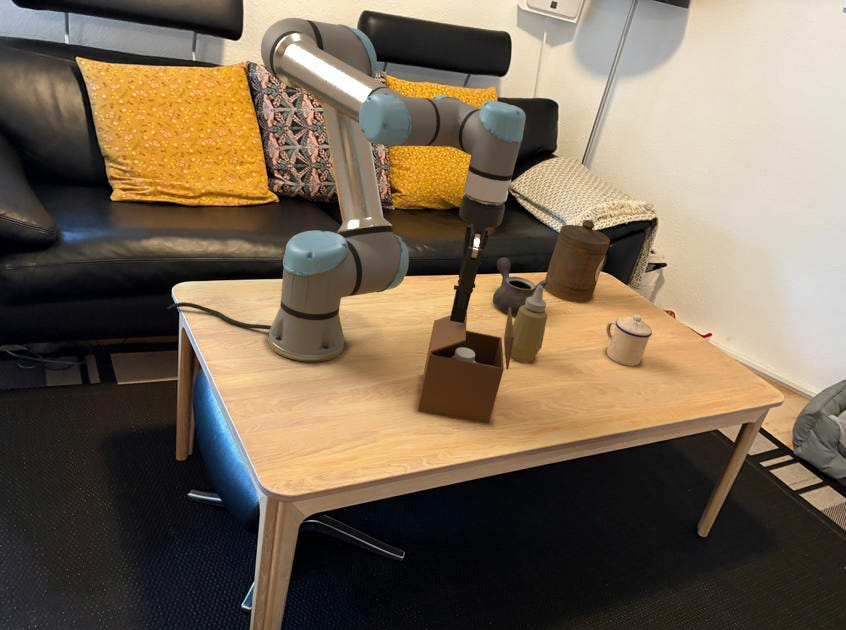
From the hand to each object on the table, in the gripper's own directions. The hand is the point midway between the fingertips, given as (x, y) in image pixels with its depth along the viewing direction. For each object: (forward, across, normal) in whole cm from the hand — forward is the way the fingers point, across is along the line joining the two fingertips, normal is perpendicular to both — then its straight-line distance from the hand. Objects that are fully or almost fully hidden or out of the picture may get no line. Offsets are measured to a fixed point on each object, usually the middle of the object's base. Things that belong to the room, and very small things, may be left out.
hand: (457, 320), depth 126 cm
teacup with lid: (+18, +35, -44) cm, 59 cm away
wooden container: (+18, +71, -35) cm, 81 cm away
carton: (+17, 0, -3) cm, 18 cm away
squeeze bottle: (+18, +24, -18) cm, 35 cm away
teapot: (+18, +54, -17) cm, 59 cm away
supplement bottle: (+17, 0, -3) cm, 17 cm away
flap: (+3, 0, +1) cm, 3 cm away
